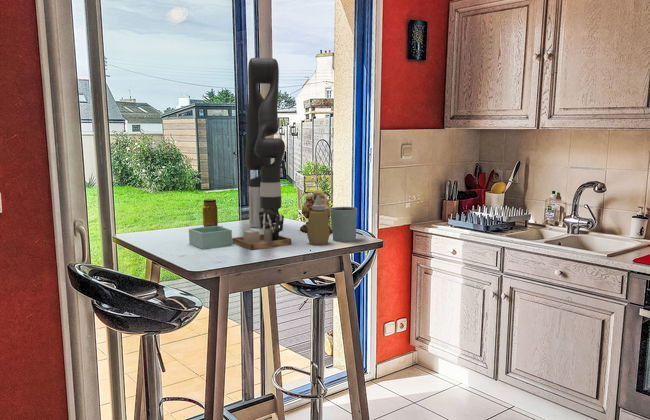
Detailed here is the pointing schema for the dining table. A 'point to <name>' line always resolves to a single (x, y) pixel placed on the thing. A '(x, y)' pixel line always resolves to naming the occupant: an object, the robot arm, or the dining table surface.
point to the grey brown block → (268, 234)
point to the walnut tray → (261, 243)
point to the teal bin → (210, 237)
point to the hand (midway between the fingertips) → (271, 241)
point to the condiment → (210, 213)
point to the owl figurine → (308, 207)
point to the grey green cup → (344, 223)
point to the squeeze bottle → (318, 224)
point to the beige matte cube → (251, 236)
